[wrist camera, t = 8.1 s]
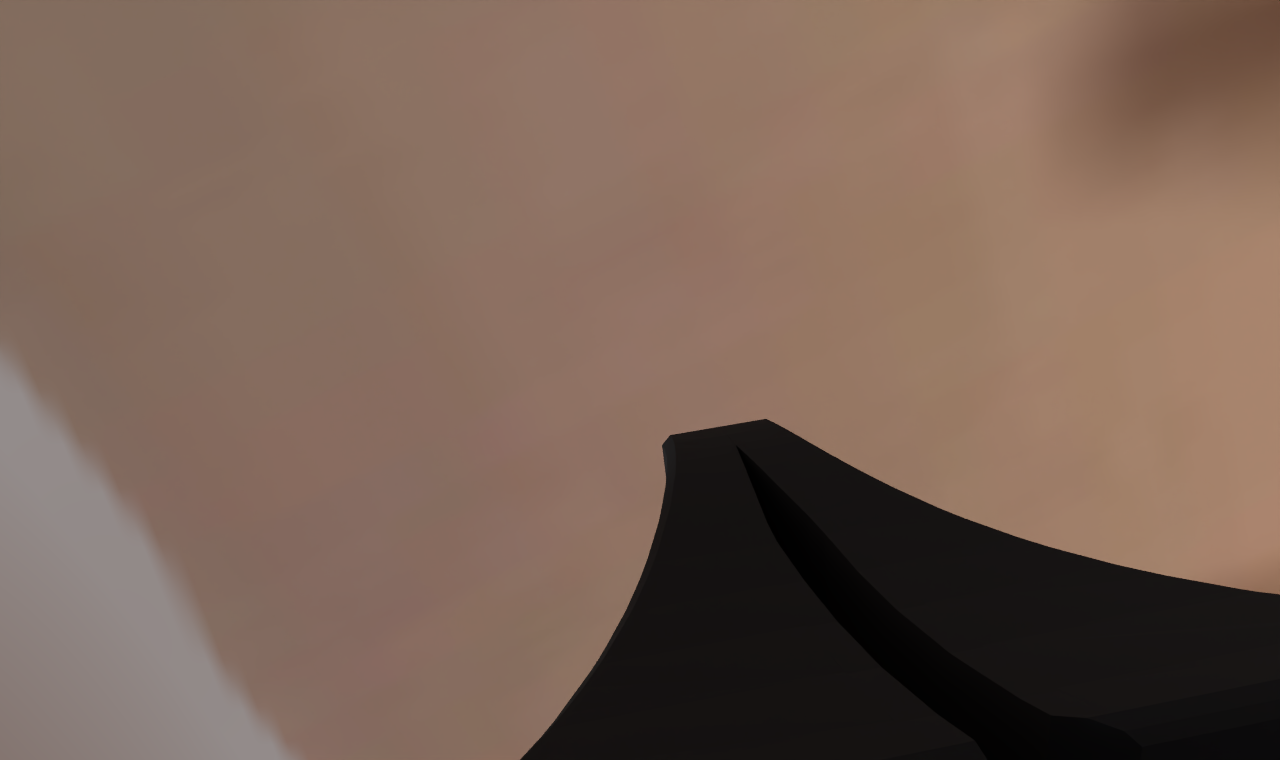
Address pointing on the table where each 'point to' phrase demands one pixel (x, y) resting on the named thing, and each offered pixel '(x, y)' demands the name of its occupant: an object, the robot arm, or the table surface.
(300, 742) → the table surface
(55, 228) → the table surface
